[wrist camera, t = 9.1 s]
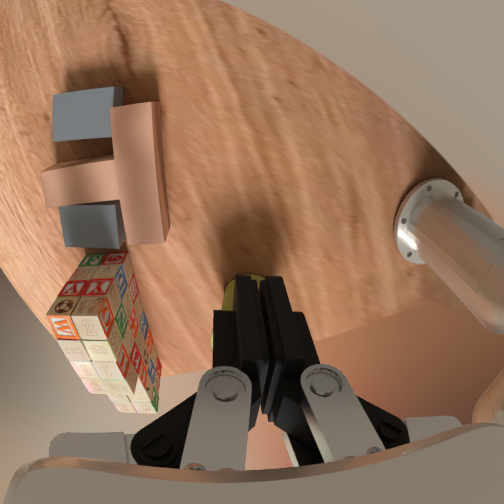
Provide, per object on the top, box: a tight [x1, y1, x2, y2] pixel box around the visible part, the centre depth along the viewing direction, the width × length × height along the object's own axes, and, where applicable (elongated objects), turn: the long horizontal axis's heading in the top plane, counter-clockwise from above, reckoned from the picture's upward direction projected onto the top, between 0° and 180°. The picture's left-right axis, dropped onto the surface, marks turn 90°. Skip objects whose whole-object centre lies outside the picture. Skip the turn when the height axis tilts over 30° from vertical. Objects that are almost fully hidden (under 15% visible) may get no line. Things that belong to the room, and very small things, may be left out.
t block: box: [40, 101, 170, 245], centre depth 27 cm, size 13×14×4 cm
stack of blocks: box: [46, 252, 162, 413], centre depth 34 cm, size 21×6×12 cm, turn 1°
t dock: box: [53, 87, 126, 249], centre depth 27 cm, size 7×17×3 cm, turn 174°
